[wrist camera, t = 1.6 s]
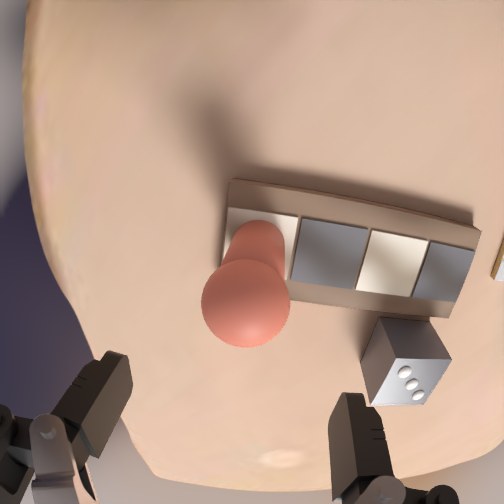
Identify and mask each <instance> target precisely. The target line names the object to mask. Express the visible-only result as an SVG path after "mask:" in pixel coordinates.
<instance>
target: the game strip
mask: <svg viewBox="0 0 504 504" xmlns="http://www.w3.org/2000/svg"><path fill="white" fill-rule="evenodd" d="M252 220H264V221H267V222H270V223H272V224H273V225H275V226H276V227H277V228H278V229H279V230H280V231H281V233H282V235H283V237H284V241H285V284H286V286H287V289H288V292H289V297H290V300H294V301H301V302H308V303H315V304H323V305H330V306H338V307H346V308H354V309H363V310H371V311H380V312H389V313H399V314H409V315H419V316H429V317H441V318H449V316H450V314H451V312H452V309H453V307H454V305H455V303H456V301H457V298H458V296H459V294H460V291H461V289H462V286H463V284H464V281H465V279H466V276H467V274H468V271H469V268H470V266H471V263H472V260H473V257H474V254H475V251H476V248H477V245H478V242H479V239H480V235H481V232H482V231H480V230H479V229H477V228H476V227H474V226H472V225H468V224H465V223H461V222H457V221H453V220H449V219H446V218H442V217H438V216H434V215H430V214H426V213H421V212H417V211H413V210H409V209H404V208H400V207H395V206H391V205H386V204H381V203H377V202H372V201H367V200H362V199H357V198H352V197H347V196H342V195H336V194H331V193H325V192H320V191H314V190H308V189H302V188H296V187H290V186H283V185H277V184H270V183H263V182H256V181H249V180H241V179H232V180H231V181H230V182H229V190H228V199H227V209H226V219H225V229H224V240H223V250H222V261H223V259H224V256H225V254H226V252H227V250H228V248H229V245H230V243H231V241H232V239H233V237H234V235H235V233H236V231H237V230H238V228H239V227H240V226H242V225H243V224H244V223H246V222H249V221H252ZM222 261H221V263H222Z"/></svg>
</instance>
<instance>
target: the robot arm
mask: <svg viewBox="0 0 504 504" xmlns="http://www.w3.org/2000/svg"><path fill="white" fill-rule="evenodd" d="M132 388H133V381H132V376H131V370H130V365H129V359H128V357H127V355H123V354H120V353H116V352H113V351H107V352H106V353H105V354H104V356H103V357H102V359H101V360H100V361H98V360H95V359H94V360H93V361H91V362H90V363H88V364H87V365H85V366H84V367H83V368H82V370H81V371H80V373H79V374H78V376H77V378H75V380H74V381H73V382H72V385H70V387H69V388H68V389H67V391H66V392H65V394H64V395H63V397H62V398H61V400H60V401H59V403H58V404H57V405H56V407H55V409H54V410H53V411H52V412H51V413H50V414H43V415H40V416H38V417H36V418H35V419H28V418H23V417H18V416H13V414H12V413H11V411H10V410H9V408H8V407H6V406H4V405H1V404H0V504H20V502H21V500H22V498H23V496H24V493H25V491H26V489H27V487H28V485H29V483H30V480H31V478H32V476H33V474H34V472H35V475H36V479H35V480H33V481H32V483H31V488H32V493H33V498H34V502H35V504H100V503H99V500H98V497H97V494H96V491H95V489H94V486H93V483H92V479H91V476H90V473H89V469H88V466H87V463H86V461H87V459H88V457H89V455H91V456H94V457H96V458H99V457H100V455H101V453H102V451H103V449H104V447H105V445H106V443H107V441H108V438H109V437H110V435H111V433H112V431H113V429H114V427H115V425H116V423H117V421H118V419H119V417H120V415H121V413H122V411H123V409H124V407H125V405H126V403H127V401H128V400H129V398H130V396H131V393H132ZM383 429H384V428H383V424H382V419H381V417H380V415H379V414H378V413H377V411H376V410H375V408H374V407H366V403H365V398H364V395H363V394H362V393H346V392H343V393H342V394H341V396H340V398H339V400H338V402H337V404H336V406H335V408H334V410H333V412H332V414H331V416H330V419H329V423H328V437H329V450H330V465H331V482H332V501H333V502H342V504H459V499H458V496H457V493H456V492H455V490H454V489H453V488H451V487H450V486H447V485H438V486H436V487H434V488H432V489H431V490H430V491H424V490H417V489H411V488H407V487H405V486H404V485H403V483H402V482H401V481H400V480H399V479H397V478H395V476H394V474H393V470H392V465H391V460H390V455H389V450H388V446H387V441H386V440H385V439H386V437H385V432H384V431H383Z"/></svg>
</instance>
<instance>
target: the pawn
mask: <svg viewBox="0 0 504 504" xmlns="http://www.w3.org/2000/svg"><path fill="white" fill-rule="evenodd" d="M201 307H202V313H203V317H204V320H205V322H206V324H207V326H208V327H209V329H210V330H211V331H212V332H213V334H214V335H215V336H217V337H218V338H219V339H220V340H222V341H224V342H225V343H228V344H230V345H233V346H237V347H255V346H259V345H262V344H264V343H266V342H268V341H270V340H271V339H272V338H274V337H275V336H276V335H277V334H278V333H279V332H280V331H281V329H282V328H283V326H284V325H285V323H286V321H287V318H288V315H289V310H290V297H289V292H288V289H287V286H286V284H285V241H284V237H283V235H282V233H281V231H280V230H279V229H278V228H277V227H276V226H275V225H273V224H272V223H270V222H267V221H264V220H252V221H249V222H246V223H244V224H243V225H242V226H240V227H239V228H238V230H237V231H236V233H235V235H234V237H233V239H232V241H231V243H230V245H229V248H228V250H227V252H226V254H225V256H224V259H223V261H222V263H221V265H220V267H219V269H217V270H216V271H215V272H214V273H213V274H212V275H211V276H210V278H209V279H208V281H207V283H206V285H205V287H204V290H203V293H202V300H201Z"/></svg>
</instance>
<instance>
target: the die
mask: <svg viewBox="0 0 504 504" xmlns="http://www.w3.org/2000/svg"><path fill="white" fill-rule="evenodd" d="M451 360H452V359H451V357H450V355H449V353H448V351H447V350H446V348H445V346H444V345H443V343H442V341H441V339H440V338H439V336H438V334H437V333H436V331H435V329H434V328H433V326H432V324H431V323H430V322H429V321H417V320H406V319H396V318H386V317H379V319H378V321H377V324H376V326H375V329H374V331H373V334H372V336H371V339H370V341H369V343H368V346H367V348H366V351H365V353H364V355H363V357H362V360H361V362H360V364H361V368H362V372H363V377H364V381H365V385H366V389H367V393H368V398H369V402H370V405H422V404H424V403H425V401H426V400H427V398H428V397H429V395H430V394H431V393H432V391H433V389H434V388H435V386H436V385H437V383H438V382H439V380H440V379H441V377H442V375H443V374H444V372H445V371H446V369H447V367H448V366H449V364H450V362H451Z"/></svg>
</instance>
